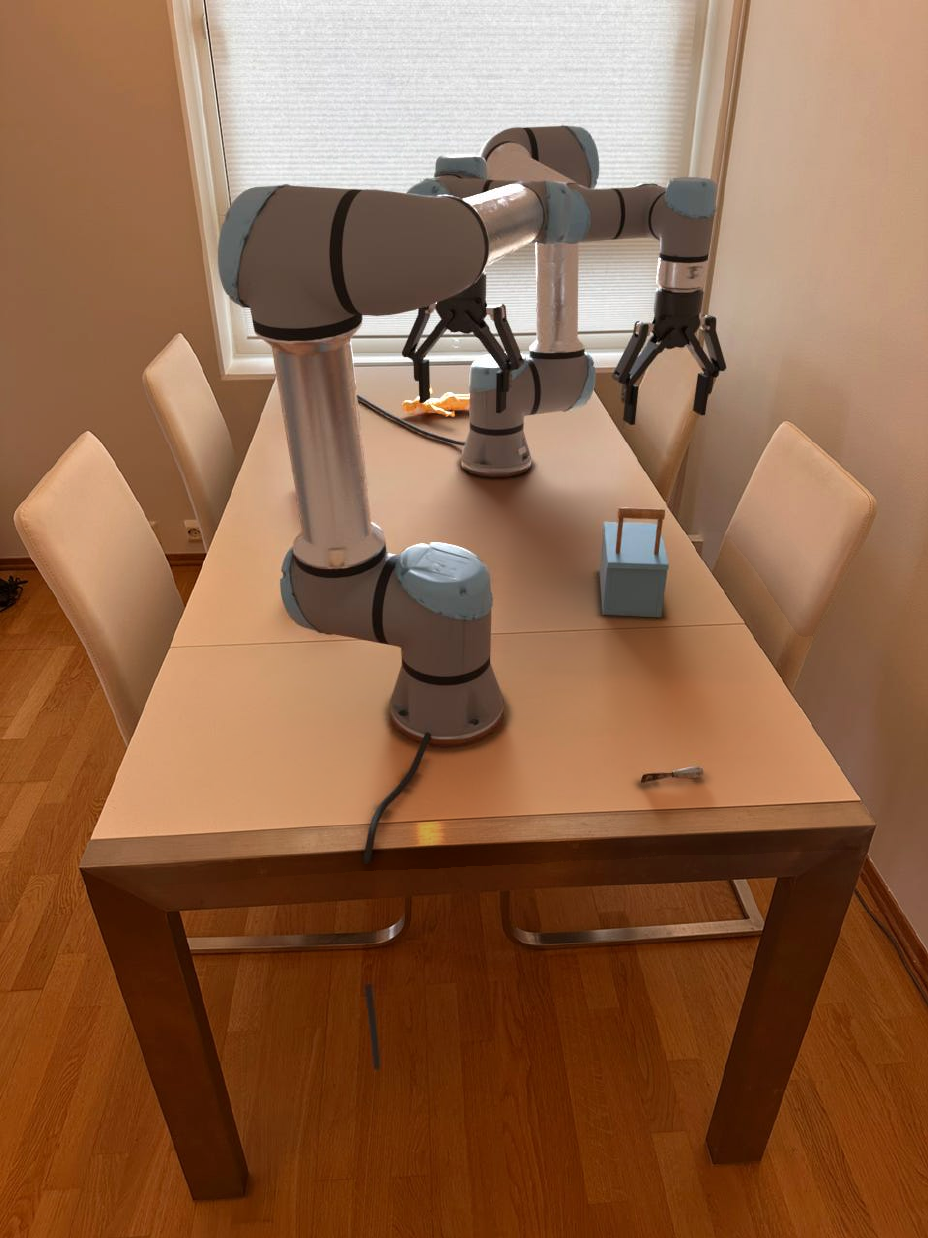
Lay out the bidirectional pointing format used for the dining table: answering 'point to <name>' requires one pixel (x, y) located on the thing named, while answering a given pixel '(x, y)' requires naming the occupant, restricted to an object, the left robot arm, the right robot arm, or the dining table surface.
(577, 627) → the dining table surface
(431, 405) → the human figure
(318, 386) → the left robot arm
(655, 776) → the putty knife
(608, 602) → the chest
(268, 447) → the dining table surface
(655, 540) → the lid
